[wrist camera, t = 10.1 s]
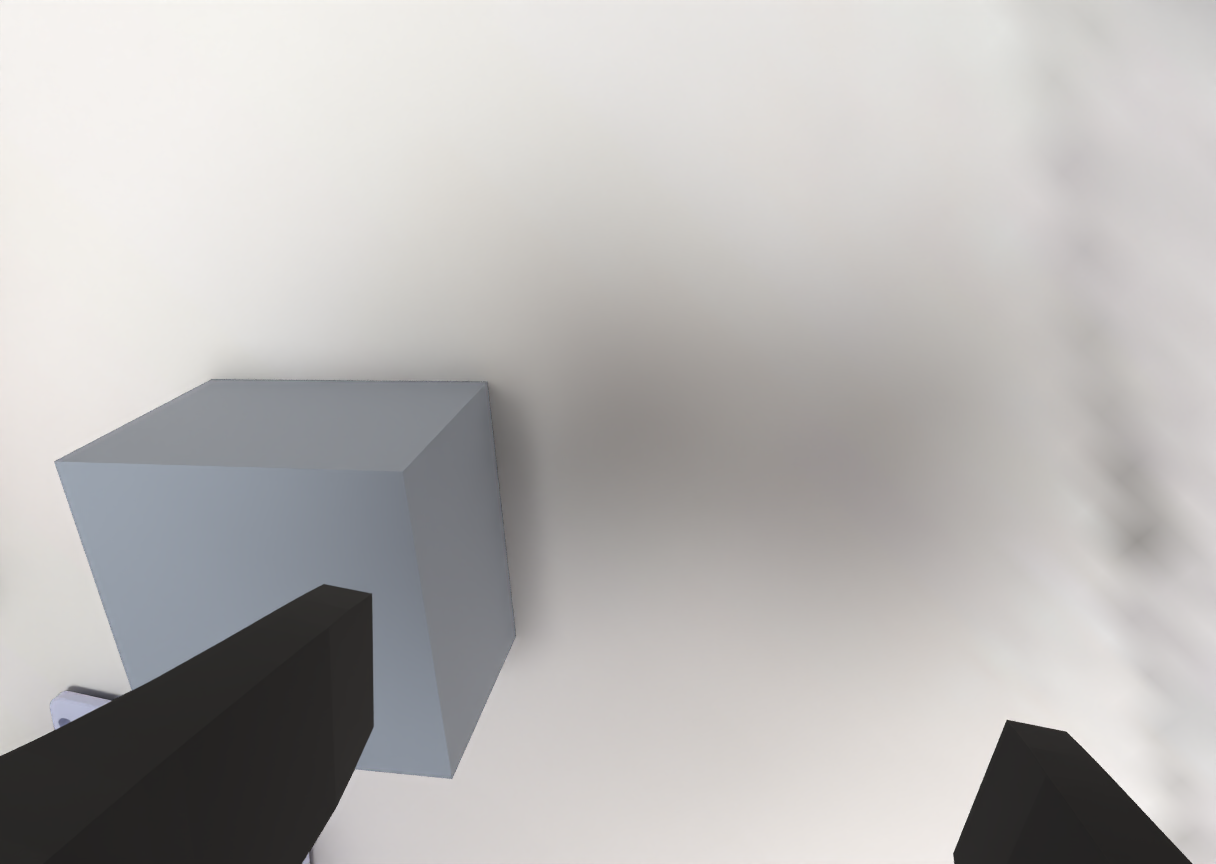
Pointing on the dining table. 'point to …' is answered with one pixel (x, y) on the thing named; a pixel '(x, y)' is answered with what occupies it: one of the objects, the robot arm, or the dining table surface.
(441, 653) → the slate block
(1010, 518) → the dining table surface
